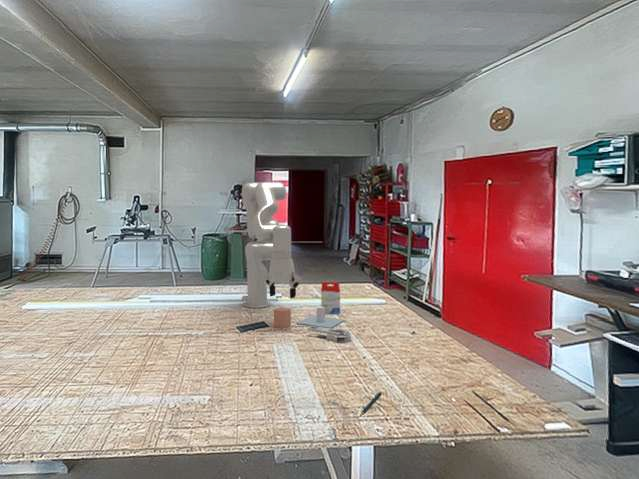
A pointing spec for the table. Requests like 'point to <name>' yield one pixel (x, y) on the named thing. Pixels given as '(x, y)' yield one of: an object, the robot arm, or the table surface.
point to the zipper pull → (333, 334)
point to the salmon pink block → (282, 317)
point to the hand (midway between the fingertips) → (282, 296)
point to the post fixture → (320, 320)
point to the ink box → (330, 297)
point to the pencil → (371, 403)
